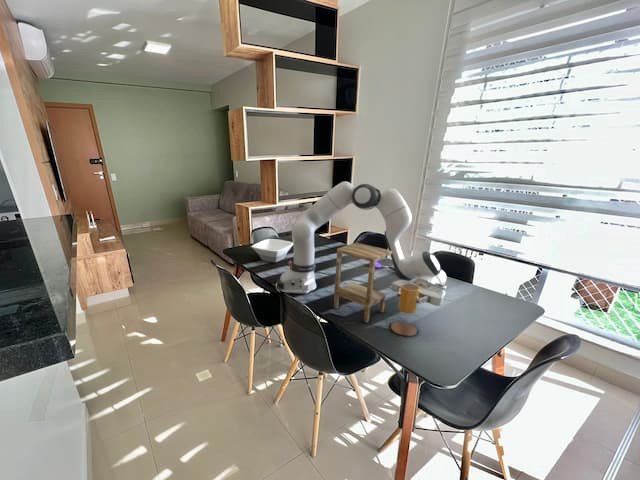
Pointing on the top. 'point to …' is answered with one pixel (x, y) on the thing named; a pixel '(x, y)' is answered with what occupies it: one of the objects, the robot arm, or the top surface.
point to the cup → (408, 298)
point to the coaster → (403, 329)
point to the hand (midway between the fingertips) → (408, 298)
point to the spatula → (382, 266)
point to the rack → (353, 290)
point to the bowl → (272, 249)
